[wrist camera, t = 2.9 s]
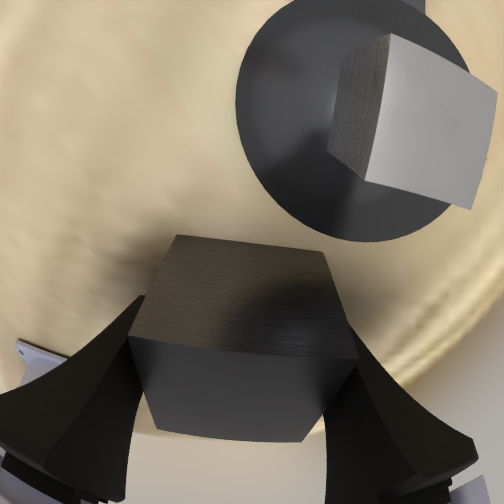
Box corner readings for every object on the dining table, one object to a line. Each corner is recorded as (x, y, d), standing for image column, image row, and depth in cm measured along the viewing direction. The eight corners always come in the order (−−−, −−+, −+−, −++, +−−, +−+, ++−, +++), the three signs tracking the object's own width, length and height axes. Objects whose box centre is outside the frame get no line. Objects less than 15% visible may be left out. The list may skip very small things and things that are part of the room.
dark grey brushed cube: (292, 348, 13) (301, 442, 9) (179, 336, 13) (156, 429, 8) (322, 252, 10) (359, 357, 6) (176, 234, 10) (127, 335, 6)
